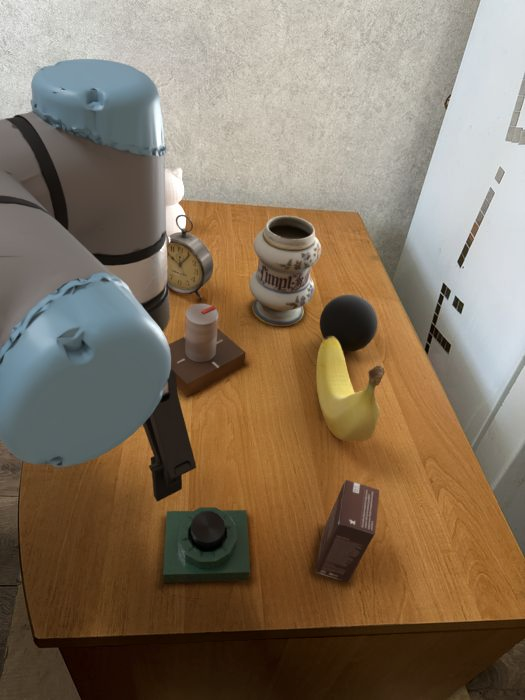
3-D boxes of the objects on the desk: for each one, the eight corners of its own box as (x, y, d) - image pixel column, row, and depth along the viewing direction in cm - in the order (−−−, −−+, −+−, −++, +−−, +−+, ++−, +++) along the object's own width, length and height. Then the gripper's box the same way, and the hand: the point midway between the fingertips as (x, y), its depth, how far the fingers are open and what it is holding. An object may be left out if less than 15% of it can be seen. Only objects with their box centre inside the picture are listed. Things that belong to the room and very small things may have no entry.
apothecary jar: (262, 283, 107) (273, 202, 95) (317, 304, 104) (336, 222, 92) (235, 316, 99) (243, 231, 86) (294, 339, 96) (311, 254, 84)
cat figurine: (187, 223, 121) (188, 159, 111) (183, 253, 112) (184, 187, 102) (147, 220, 120) (144, 156, 110) (140, 250, 111) (136, 183, 101)
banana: (306, 362, 92) (328, 266, 78) (339, 363, 92) (367, 268, 79) (327, 475, 75) (360, 378, 62) (366, 475, 76) (408, 379, 62)
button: (190, 551, 61) (190, 542, 60) (190, 519, 64) (191, 510, 63) (224, 550, 62) (225, 542, 60) (223, 519, 65) (224, 510, 63)
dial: (197, 366, 84) (199, 327, 78) (178, 349, 86) (178, 309, 81) (222, 353, 86) (225, 314, 81) (203, 337, 89) (205, 298, 83)
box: (350, 583, 64) (376, 535, 56) (314, 572, 65) (334, 523, 56) (356, 539, 68) (380, 488, 60) (322, 529, 69) (342, 477, 61)
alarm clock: (152, 287, 102) (149, 211, 91) (167, 274, 106) (166, 199, 95) (201, 307, 99) (204, 231, 88) (215, 292, 103) (220, 218, 92)
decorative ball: (323, 319, 101) (334, 276, 94) (374, 336, 99) (389, 293, 92) (308, 352, 94) (318, 307, 87) (362, 370, 92) (377, 327, 85)
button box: (163, 582, 62) (162, 567, 59) (167, 519, 68) (166, 503, 65) (248, 580, 63) (251, 565, 60) (244, 518, 69) (247, 502, 66)
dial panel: (187, 397, 83) (187, 383, 81) (153, 363, 87) (153, 350, 85) (245, 365, 89) (246, 351, 87) (211, 335, 94) (211, 322, 92)
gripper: (246, 365, 36) (230, 519, 51) (102, 201, 50) (122, 359, 65) (146, 407, 33) (159, 559, 48) (21, 219, 47) (61, 381, 61)
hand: (138, 444), depth 56 cm, fingers open, 13 cm apart
